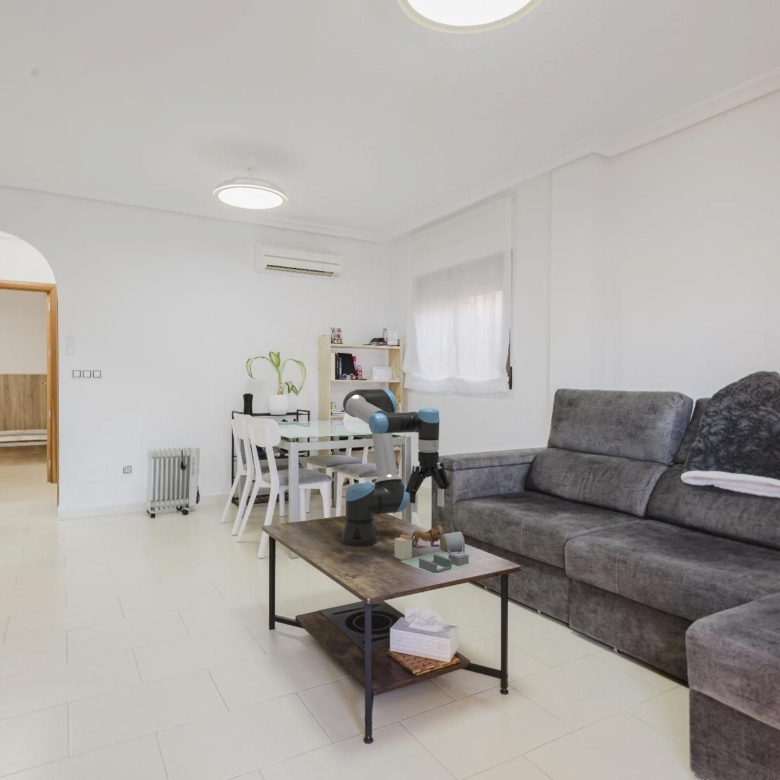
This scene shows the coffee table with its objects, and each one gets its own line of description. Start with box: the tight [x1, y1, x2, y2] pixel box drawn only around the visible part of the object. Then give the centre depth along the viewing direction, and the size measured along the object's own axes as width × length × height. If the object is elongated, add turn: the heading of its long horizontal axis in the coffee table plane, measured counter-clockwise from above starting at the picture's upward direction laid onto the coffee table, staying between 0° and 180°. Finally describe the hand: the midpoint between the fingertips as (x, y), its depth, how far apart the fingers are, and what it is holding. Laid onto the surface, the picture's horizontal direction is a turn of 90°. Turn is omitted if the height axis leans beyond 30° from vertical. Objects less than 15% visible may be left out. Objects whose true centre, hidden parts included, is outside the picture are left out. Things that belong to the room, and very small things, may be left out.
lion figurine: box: [411, 525, 445, 549], centre depth 221 cm, size 15×5×9 cm, turn 79°
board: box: [399, 551, 471, 576], centre depth 199 cm, size 18×18×1 cm
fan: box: [448, 551, 470, 566], centre depth 199 cm, size 5×5×4 cm
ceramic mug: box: [439, 531, 466, 554], centre depth 214 cm, size 11×8×8 cm
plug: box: [394, 534, 413, 561], centre depth 205 cm, size 4×4×9 cm
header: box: [419, 554, 452, 574], centre depth 194 cm, size 9×8×3 cm
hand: (427, 509), depth 204 cm, fingers open, 13 cm apart
